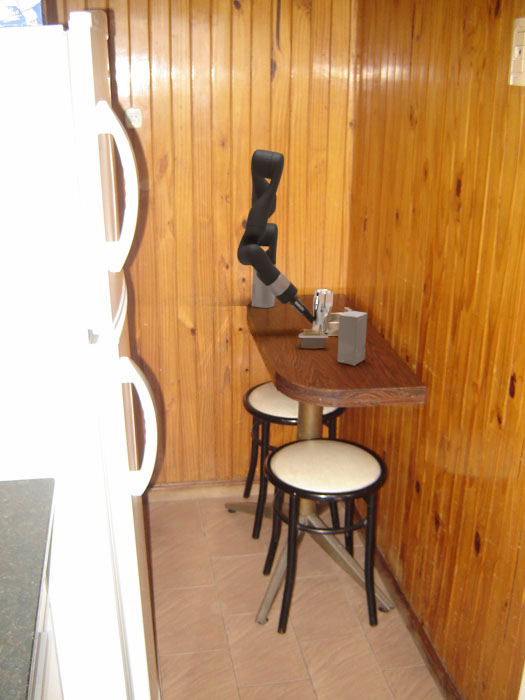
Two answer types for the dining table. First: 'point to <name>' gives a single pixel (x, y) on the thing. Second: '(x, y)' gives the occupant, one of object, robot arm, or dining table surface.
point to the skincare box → (352, 337)
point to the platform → (312, 338)
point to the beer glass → (322, 309)
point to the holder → (335, 323)
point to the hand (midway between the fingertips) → (312, 320)
